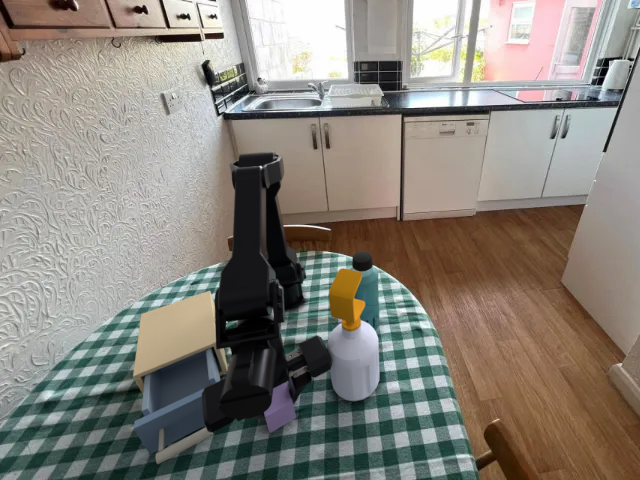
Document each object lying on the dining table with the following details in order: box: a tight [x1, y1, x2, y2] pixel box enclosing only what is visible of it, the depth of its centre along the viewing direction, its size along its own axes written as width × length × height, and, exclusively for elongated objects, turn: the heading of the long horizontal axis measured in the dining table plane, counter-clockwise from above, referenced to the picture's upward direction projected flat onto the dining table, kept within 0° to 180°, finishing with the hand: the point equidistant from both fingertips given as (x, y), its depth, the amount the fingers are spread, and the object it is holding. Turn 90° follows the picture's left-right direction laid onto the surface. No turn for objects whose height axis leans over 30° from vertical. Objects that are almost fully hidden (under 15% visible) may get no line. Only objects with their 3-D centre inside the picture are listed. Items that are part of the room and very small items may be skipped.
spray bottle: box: [326, 267, 380, 402], centre depth 54 cm, size 9×9×25 cm
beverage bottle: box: [349, 250, 381, 332], centre depth 65 cm, size 6×7×20 cm
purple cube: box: [264, 382, 297, 434], centre depth 52 cm, size 4×4×4 cm
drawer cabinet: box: [132, 290, 228, 395], centre depth 62 cm, size 16×13×9 cm
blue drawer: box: [133, 346, 221, 465], centre depth 53 cm, size 19×11×7 cm, turn 31°
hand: (279, 409), depth 53 cm, fingers closed on purple cube, 4 cm apart
